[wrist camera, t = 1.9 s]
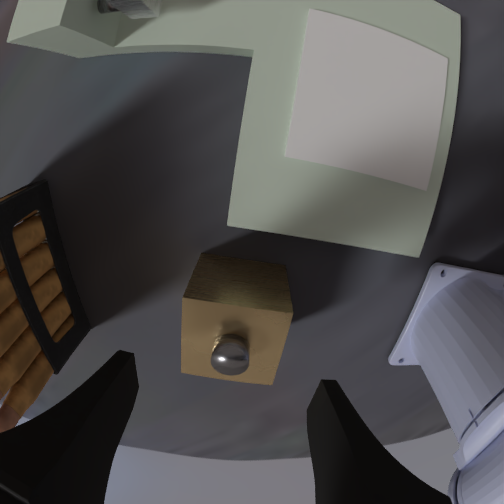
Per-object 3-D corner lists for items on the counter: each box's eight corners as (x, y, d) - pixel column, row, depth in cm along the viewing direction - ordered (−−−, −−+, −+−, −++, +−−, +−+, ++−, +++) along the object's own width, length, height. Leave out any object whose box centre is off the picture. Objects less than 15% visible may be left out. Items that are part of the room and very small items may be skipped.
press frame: (446, 21, 10) (511, -4, 4) (407, 246, 15) (463, 303, 10) (104, -29, 9) (50, -68, 3) (69, 196, 14) (-1, 232, 9)
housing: (285, 264, 16) (295, 328, 11) (269, 330, 18) (272, 400, 13) (201, 252, 16) (176, 311, 11) (196, 319, 18) (177, 387, 13)
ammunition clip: (91, 329, 18) (11, 464, 7) (72, 327, 18) (-9, 452, 7) (47, 179, 14) (-118, 266, 3) (27, 184, 14) (-124, 267, 3)
